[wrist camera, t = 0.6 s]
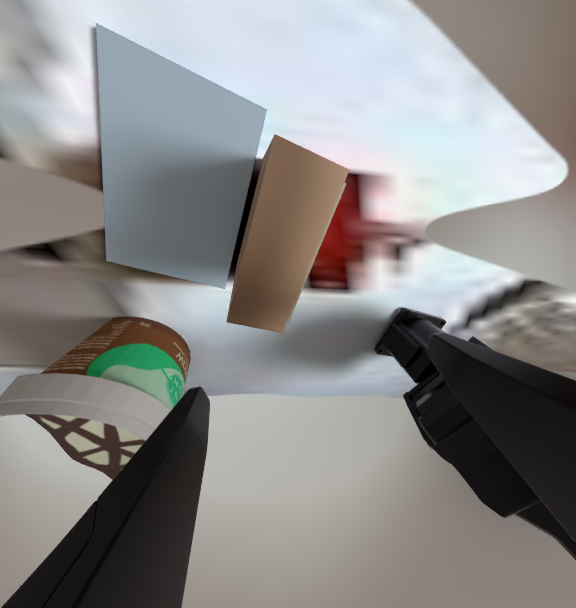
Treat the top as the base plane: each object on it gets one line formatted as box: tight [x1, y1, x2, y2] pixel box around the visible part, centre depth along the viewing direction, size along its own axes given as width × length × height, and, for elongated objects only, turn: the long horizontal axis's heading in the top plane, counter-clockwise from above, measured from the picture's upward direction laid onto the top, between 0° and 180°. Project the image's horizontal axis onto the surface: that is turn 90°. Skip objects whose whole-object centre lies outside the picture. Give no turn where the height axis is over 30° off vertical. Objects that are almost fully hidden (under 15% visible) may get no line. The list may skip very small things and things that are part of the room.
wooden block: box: [227, 135, 349, 333], centre depth 13 cm, size 3×8×9 cm, turn 161°
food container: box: [0, 317, 190, 479], centre depth 17 cm, size 12×6×10 cm, turn 7°
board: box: [96, 23, 267, 289], centre depth 15 cm, size 9×13×1 cm
